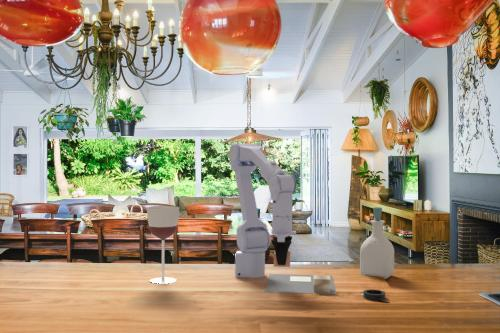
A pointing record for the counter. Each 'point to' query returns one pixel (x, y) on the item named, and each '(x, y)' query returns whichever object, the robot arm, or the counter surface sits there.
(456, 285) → the counter surface
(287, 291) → the board
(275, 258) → the base block
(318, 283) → the top block
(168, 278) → the wineglass
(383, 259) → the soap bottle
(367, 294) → the duct tape
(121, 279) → the counter surface
